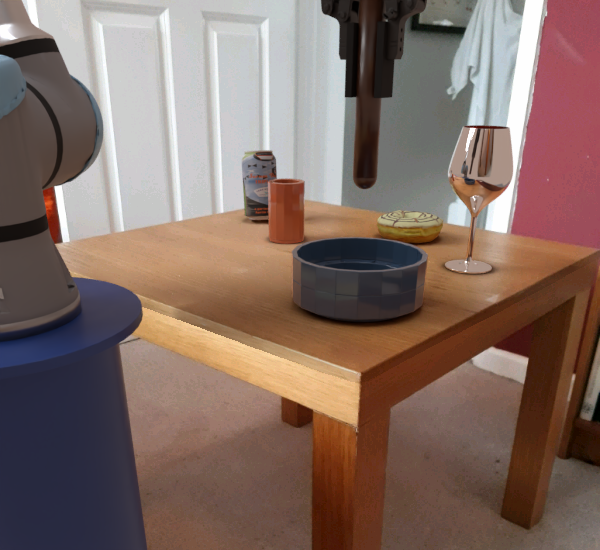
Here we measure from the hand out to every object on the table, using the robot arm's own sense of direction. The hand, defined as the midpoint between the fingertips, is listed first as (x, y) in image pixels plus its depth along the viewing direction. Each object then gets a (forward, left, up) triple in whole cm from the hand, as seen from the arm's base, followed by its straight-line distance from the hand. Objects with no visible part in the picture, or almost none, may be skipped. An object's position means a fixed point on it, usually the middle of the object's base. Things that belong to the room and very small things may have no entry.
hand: (368, 96), depth 64 cm
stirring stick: (0, 0, -9) cm, 9 cm away
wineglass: (+6, +22, -22) cm, 32 cm away
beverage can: (-36, +32, -22) cm, 53 cm away
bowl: (0, 0, -22) cm, 22 cm away
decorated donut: (-8, +34, -22) cm, 41 cm away
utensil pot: (-24, +22, -22) cm, 39 cm away
